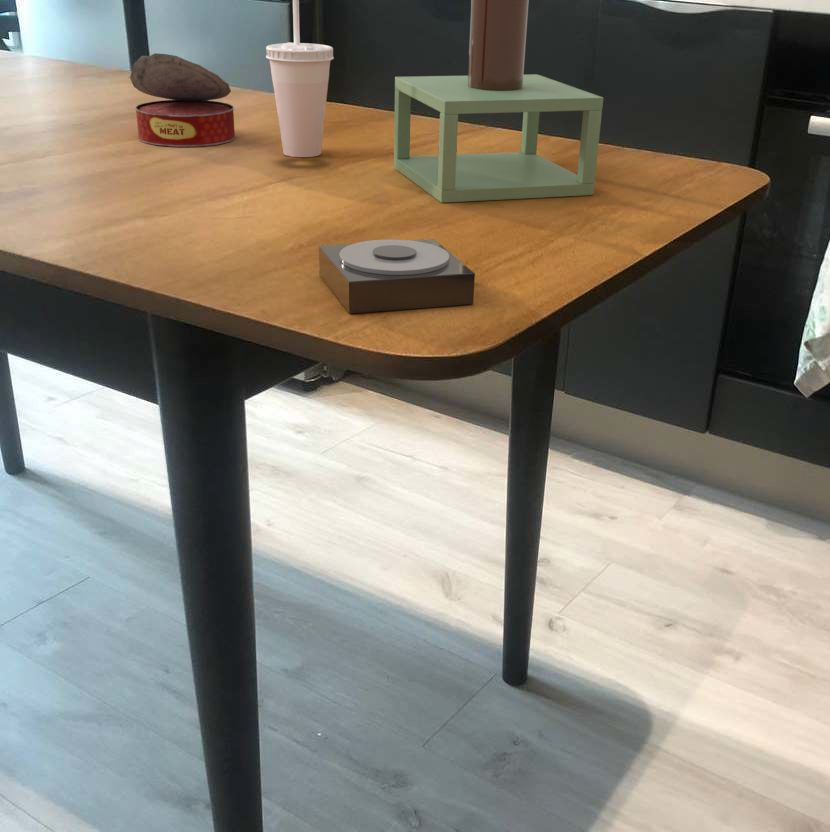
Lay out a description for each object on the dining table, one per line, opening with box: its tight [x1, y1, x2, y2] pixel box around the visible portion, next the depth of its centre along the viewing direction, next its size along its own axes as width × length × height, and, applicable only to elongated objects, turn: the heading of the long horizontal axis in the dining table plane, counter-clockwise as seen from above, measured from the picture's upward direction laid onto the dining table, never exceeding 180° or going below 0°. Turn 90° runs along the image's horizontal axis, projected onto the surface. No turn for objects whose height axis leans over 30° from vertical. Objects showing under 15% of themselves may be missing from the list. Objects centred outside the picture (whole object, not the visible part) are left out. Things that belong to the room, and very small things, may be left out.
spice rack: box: [393, 73, 604, 204], centre depth 96 cm, size 14×14×8 cm
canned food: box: [129, 53, 236, 148], centre depth 111 cm, size 11×10×10 cm
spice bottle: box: [467, 0, 530, 91], centre depth 91 cm, size 5×5×12 cm
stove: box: [318, 238, 476, 315], centre depth 69 cm, size 8×8×2 cm
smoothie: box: [265, 0, 335, 158], centre depth 103 cm, size 6×6×14 cm
